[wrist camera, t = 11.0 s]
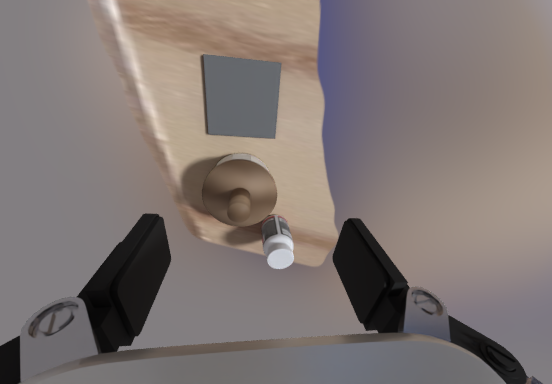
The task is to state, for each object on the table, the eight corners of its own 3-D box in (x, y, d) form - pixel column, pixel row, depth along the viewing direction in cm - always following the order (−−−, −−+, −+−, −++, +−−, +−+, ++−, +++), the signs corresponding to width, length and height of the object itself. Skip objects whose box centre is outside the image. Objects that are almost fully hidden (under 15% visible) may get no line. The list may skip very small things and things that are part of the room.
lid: (200, 157, 31) (189, 171, 25) (279, 160, 32) (285, 175, 27) (206, 222, 36) (198, 246, 31) (273, 223, 38) (277, 245, 32)
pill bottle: (261, 236, 45) (263, 272, 36) (260, 214, 42) (262, 248, 34) (287, 234, 45) (295, 269, 37) (288, 213, 43) (297, 245, 34)
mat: (204, 54, 29) (203, 54, 28) (280, 63, 30) (281, 62, 30) (209, 133, 34) (208, 134, 33) (274, 137, 35) (275, 138, 35)
